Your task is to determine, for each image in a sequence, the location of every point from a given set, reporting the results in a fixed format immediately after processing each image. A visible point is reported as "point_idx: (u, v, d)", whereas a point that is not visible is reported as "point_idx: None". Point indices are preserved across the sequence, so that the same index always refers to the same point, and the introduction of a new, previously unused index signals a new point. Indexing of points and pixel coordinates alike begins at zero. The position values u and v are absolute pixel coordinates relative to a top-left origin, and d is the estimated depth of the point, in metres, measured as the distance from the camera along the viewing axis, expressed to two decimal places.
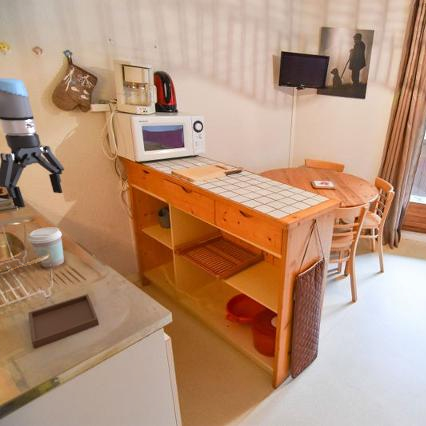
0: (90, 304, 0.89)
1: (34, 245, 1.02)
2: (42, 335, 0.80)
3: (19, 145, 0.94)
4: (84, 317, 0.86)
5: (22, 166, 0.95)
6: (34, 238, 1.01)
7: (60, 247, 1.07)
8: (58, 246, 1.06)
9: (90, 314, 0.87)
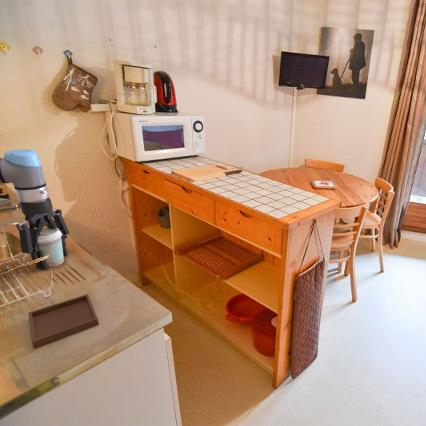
0: (90, 304, 0.89)
1: None
2: (42, 335, 0.80)
3: (32, 212, 0.98)
4: (84, 317, 0.86)
5: (38, 231, 1.01)
6: None
7: (60, 247, 1.07)
8: (58, 246, 1.06)
9: (90, 314, 0.87)
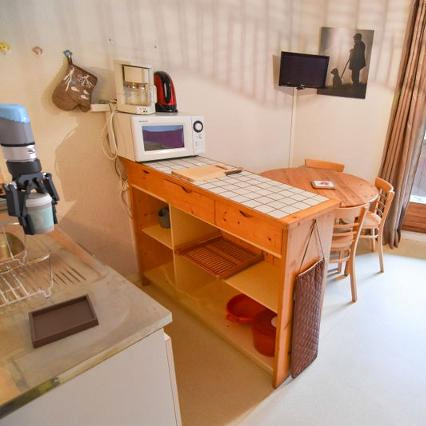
0: (90, 304, 0.89)
1: None
2: (42, 335, 0.80)
3: (20, 172, 0.91)
4: (84, 317, 0.86)
5: (27, 193, 0.94)
6: None
7: (50, 213, 1.00)
8: (48, 211, 0.99)
9: (90, 314, 0.87)
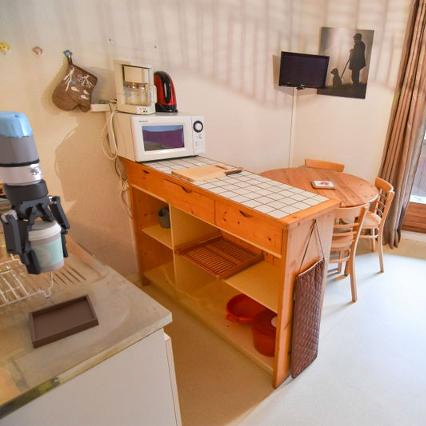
0: (90, 304, 0.89)
1: None
2: (42, 335, 0.80)
3: (21, 198, 0.72)
4: (84, 317, 0.86)
5: (30, 224, 0.75)
6: None
7: (59, 246, 0.81)
8: (56, 244, 0.80)
9: (90, 314, 0.87)
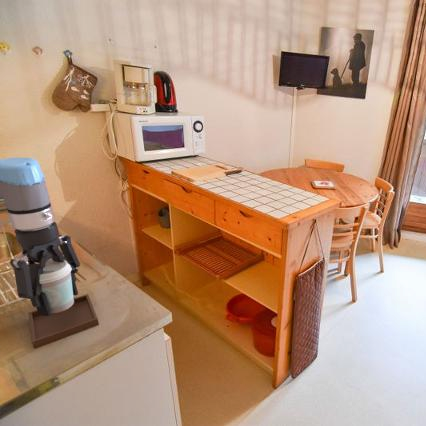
0: (90, 304, 0.89)
1: None
2: (42, 335, 0.80)
3: (32, 243, 0.72)
4: (84, 317, 0.86)
5: (41, 267, 0.75)
6: None
7: (69, 286, 0.81)
8: (67, 285, 0.80)
9: (90, 314, 0.87)
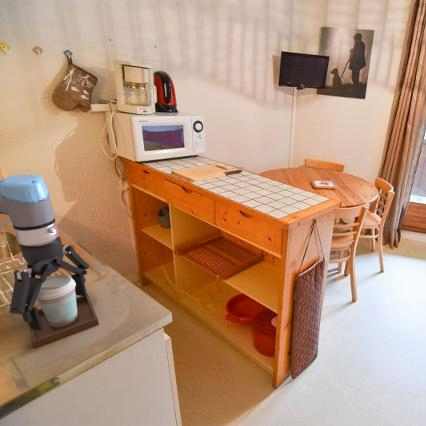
0: (90, 304, 0.89)
1: (40, 302, 0.78)
2: (42, 335, 0.80)
3: (37, 258, 0.73)
4: (84, 317, 0.86)
5: (41, 281, 0.75)
6: (40, 293, 0.77)
7: (73, 301, 0.83)
8: (71, 300, 0.82)
9: (90, 314, 0.87)
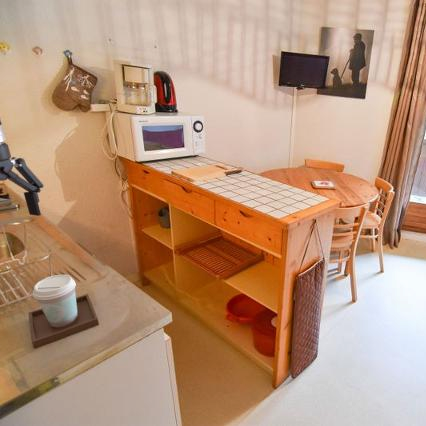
0: (90, 304, 0.89)
1: (40, 302, 0.78)
2: (42, 335, 0.80)
3: None
4: (84, 317, 0.86)
5: None
6: (40, 293, 0.77)
7: (73, 301, 0.83)
8: (71, 300, 0.82)
9: (90, 314, 0.87)
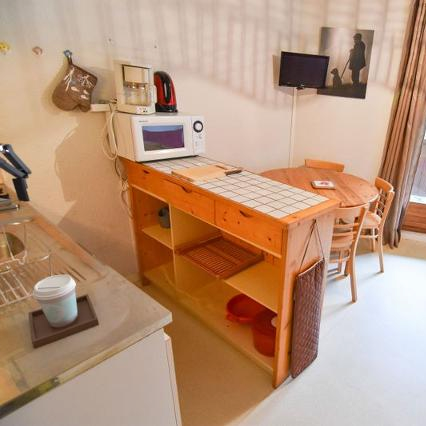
0: (90, 304, 0.89)
1: (40, 302, 0.78)
2: (42, 335, 0.80)
3: None
4: (84, 317, 0.86)
5: None
6: (40, 293, 0.77)
7: (73, 301, 0.83)
8: (71, 300, 0.82)
9: (90, 314, 0.87)
